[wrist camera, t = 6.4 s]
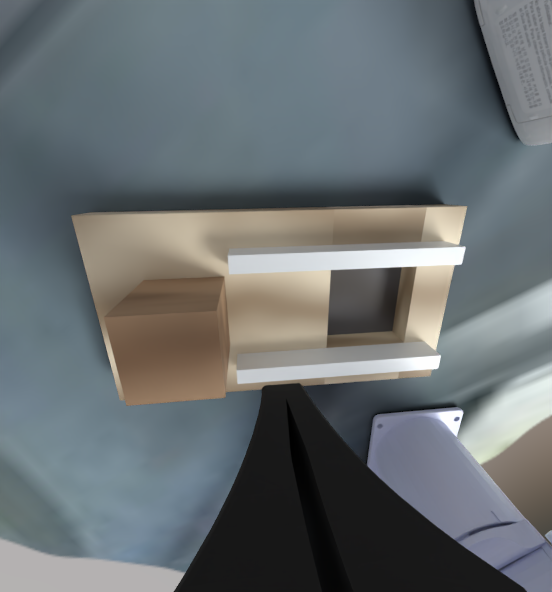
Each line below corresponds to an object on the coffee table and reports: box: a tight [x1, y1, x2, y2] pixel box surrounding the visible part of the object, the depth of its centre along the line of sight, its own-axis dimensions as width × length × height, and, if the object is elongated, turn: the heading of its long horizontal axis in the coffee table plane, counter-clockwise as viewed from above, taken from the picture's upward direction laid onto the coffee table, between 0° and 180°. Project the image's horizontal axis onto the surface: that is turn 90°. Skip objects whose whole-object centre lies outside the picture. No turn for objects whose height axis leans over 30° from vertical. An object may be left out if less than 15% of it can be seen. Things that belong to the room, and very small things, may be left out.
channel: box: [228, 241, 465, 384], centre depth 17 cm, size 8×13×2 cm, turn 91°
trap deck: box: [71, 204, 467, 400], centre depth 19 cm, size 12×22×2 cm, turn 91°
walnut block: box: [104, 277, 230, 406], centre depth 15 cm, size 5×5×5 cm
